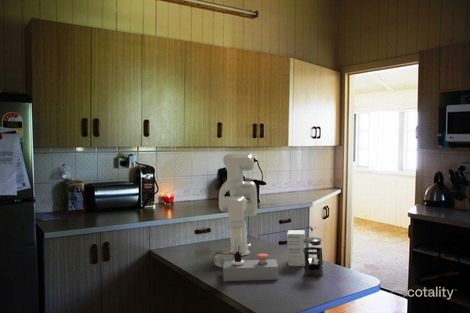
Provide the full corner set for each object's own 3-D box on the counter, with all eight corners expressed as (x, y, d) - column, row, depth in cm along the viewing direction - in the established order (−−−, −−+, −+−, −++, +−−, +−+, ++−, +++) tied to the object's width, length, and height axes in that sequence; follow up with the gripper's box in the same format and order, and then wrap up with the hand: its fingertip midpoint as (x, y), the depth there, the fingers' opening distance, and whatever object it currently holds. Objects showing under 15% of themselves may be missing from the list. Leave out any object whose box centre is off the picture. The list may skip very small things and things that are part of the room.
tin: (241, 267, 204) (240, 251, 203) (239, 269, 201) (238, 253, 200) (214, 265, 208) (213, 250, 208) (212, 267, 205) (211, 251, 205)
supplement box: (289, 260, 212) (287, 229, 211) (306, 260, 210) (305, 229, 210) (288, 265, 202) (286, 233, 202) (305, 266, 201) (304, 233, 200)
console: (223, 281, 184) (223, 268, 183) (225, 272, 196) (224, 261, 195) (278, 279, 183) (278, 266, 182) (276, 271, 195) (276, 259, 194)
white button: (232, 273, 187) (232, 263, 186) (232, 270, 192) (232, 259, 192) (244, 273, 186) (243, 262, 186) (244, 269, 192) (243, 259, 192)
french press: (314, 278, 181) (312, 229, 180) (298, 274, 188) (297, 227, 188) (329, 272, 189) (327, 225, 188) (313, 268, 196) (312, 223, 195)
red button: (257, 267, 186) (256, 257, 186) (256, 264, 192) (256, 253, 192) (268, 267, 186) (268, 256, 186) (268, 263, 191) (267, 253, 191)
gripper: (229, 221, 196) (231, 257, 197) (227, 227, 181) (229, 266, 182) (244, 220, 196) (245, 256, 196) (243, 226, 181) (245, 265, 181)
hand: (238, 261), depth 189 cm, fingers closed
